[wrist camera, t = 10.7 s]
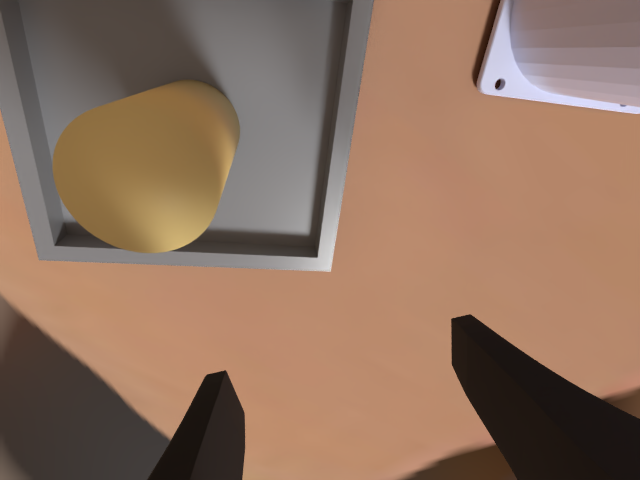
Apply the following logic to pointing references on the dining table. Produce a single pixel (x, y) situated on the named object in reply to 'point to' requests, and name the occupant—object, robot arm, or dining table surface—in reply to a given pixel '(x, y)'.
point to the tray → (216, 70)
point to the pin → (148, 165)
